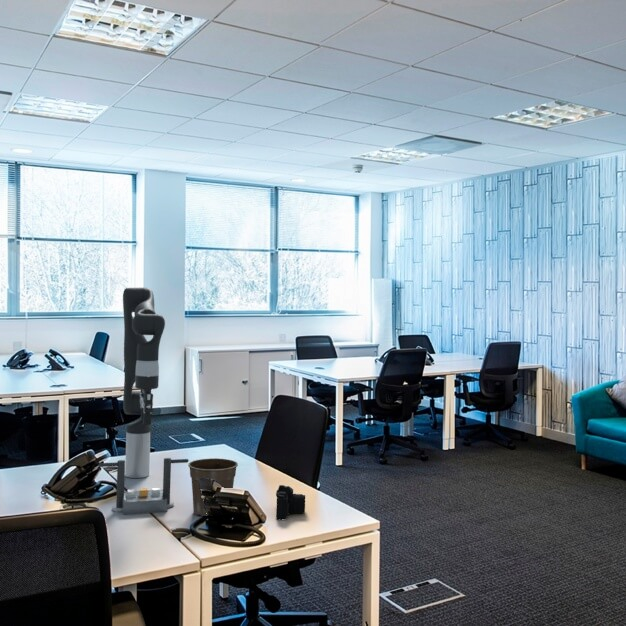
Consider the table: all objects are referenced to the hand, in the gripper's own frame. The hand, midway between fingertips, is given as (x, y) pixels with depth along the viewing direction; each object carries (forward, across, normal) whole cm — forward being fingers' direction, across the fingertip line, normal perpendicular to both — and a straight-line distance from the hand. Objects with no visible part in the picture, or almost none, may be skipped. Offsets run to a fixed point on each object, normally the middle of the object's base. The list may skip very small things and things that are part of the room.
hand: (145, 422), depth 223 cm
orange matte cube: (+24, 0, 0) cm, 24 cm away
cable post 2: (+28, 0, +10) cm, 30 cm away
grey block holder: (+28, 0, 0) cm, 28 cm away
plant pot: (+29, +10, +21) cm, 37 cm away
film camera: (+29, +18, +46) cm, 57 cm away
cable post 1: (+29, 0, -10) cm, 30 cm away
